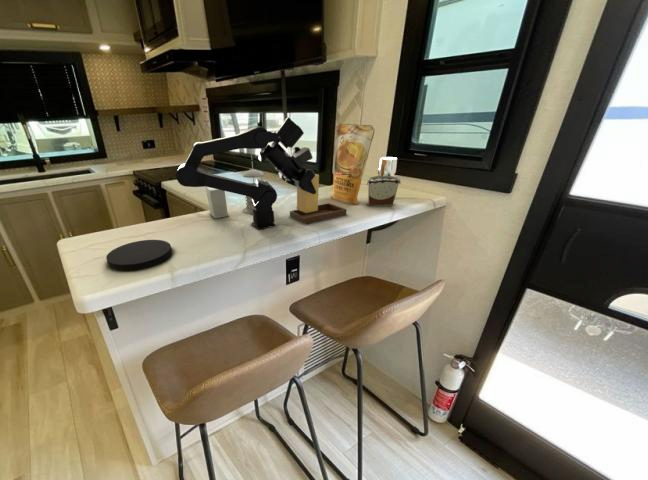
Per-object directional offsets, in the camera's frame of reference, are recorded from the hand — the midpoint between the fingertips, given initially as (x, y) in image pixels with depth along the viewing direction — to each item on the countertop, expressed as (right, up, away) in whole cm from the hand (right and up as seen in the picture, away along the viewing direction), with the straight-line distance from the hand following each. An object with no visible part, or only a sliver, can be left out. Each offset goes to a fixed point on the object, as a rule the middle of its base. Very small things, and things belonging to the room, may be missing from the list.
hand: (311, 191), depth 108 cm
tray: (+3, -7, +6) cm, 10 cm away
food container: (+30, +1, +16) cm, 34 cm away
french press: (-20, -2, +17) cm, 26 cm away
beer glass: (+34, +6, +25) cm, 43 cm away
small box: (-35, -4, +15) cm, 38 cm away
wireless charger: (-52, -26, -17) cm, 61 cm away
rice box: (-1, -6, +3) cm, 7 cm away
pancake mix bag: (+18, +4, +23) cm, 29 cm away
